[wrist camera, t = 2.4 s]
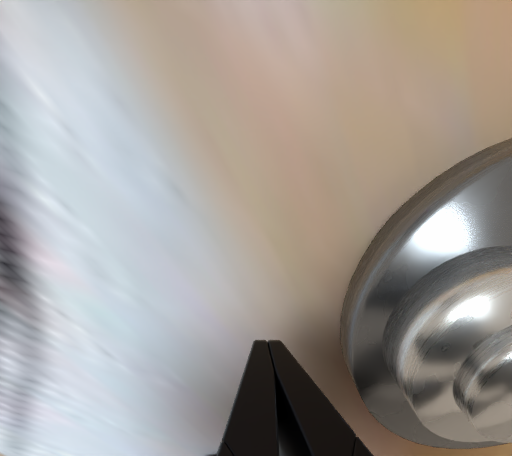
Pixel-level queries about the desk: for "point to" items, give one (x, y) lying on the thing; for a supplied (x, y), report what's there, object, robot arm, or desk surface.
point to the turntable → (421, 274)
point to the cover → (457, 347)
